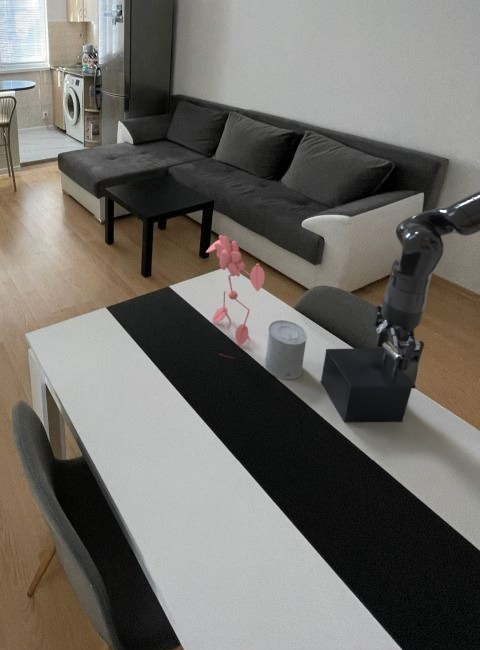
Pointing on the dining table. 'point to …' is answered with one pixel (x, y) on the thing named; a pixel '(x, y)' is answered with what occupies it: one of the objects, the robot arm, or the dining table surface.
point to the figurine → (233, 262)
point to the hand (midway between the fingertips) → (390, 357)
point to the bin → (363, 399)
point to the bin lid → (370, 368)
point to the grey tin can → (285, 349)
